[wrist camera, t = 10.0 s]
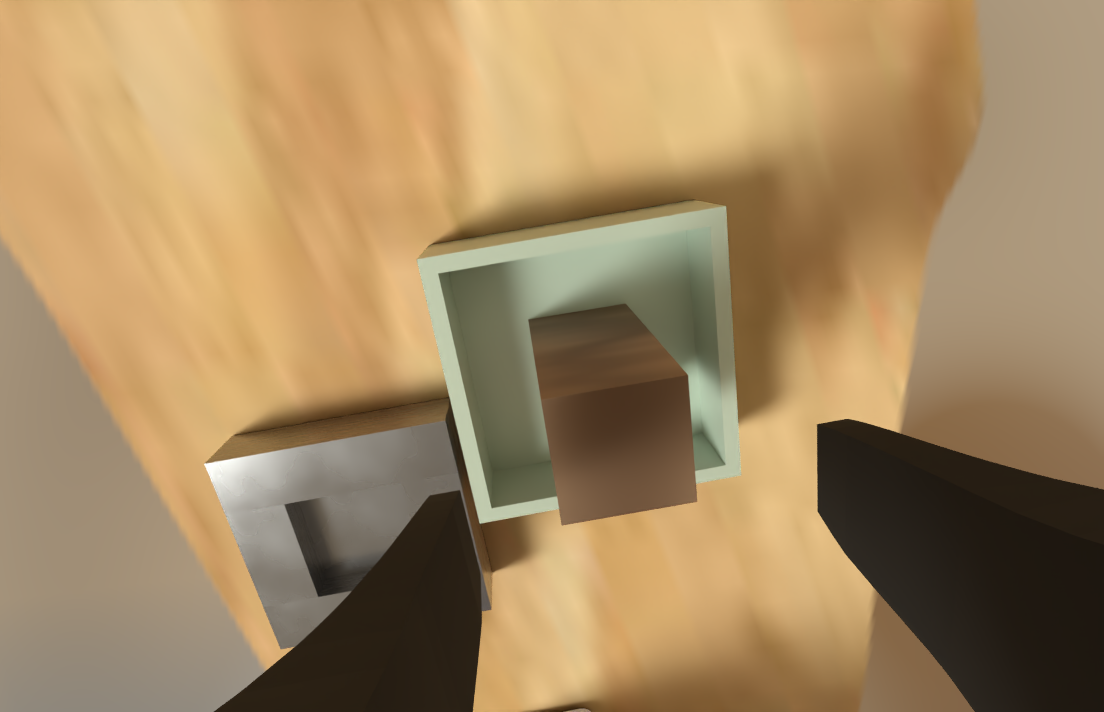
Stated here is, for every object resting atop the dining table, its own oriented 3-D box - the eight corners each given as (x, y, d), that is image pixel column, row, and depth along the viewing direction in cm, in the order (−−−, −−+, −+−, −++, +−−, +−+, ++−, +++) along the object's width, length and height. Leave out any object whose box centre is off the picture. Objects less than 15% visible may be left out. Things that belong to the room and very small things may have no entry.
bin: (710, 435, 22) (741, 475, 19) (482, 477, 22) (479, 523, 19) (693, 199, 19) (726, 206, 16) (429, 245, 19) (416, 259, 16)
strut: (625, 303, 20) (688, 374, 13) (635, 393, 21) (697, 501, 14) (528, 319, 19) (540, 399, 13) (543, 409, 21) (561, 525, 14)
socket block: (492, 573, 23) (491, 609, 22) (298, 609, 23) (280, 649, 21) (450, 397, 21) (445, 420, 19) (231, 436, 21) (204, 463, 19)
